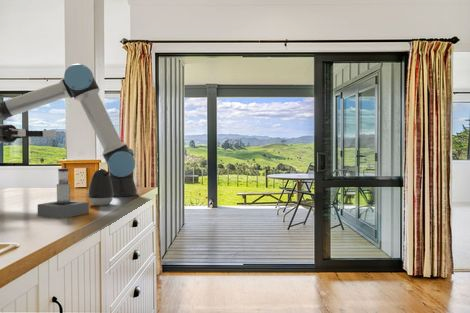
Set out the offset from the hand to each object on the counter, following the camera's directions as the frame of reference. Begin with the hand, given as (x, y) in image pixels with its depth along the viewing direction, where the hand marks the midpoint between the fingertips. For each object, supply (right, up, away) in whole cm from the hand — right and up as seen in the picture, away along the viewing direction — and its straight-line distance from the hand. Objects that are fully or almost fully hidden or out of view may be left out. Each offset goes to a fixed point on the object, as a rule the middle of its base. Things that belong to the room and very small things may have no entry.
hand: (40, 133), depth 147 cm
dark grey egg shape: (+20, -30, +11) cm, 37 cm away
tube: (+14, -30, -11) cm, 35 cm away
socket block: (+14, -30, -11) cm, 35 cm away
